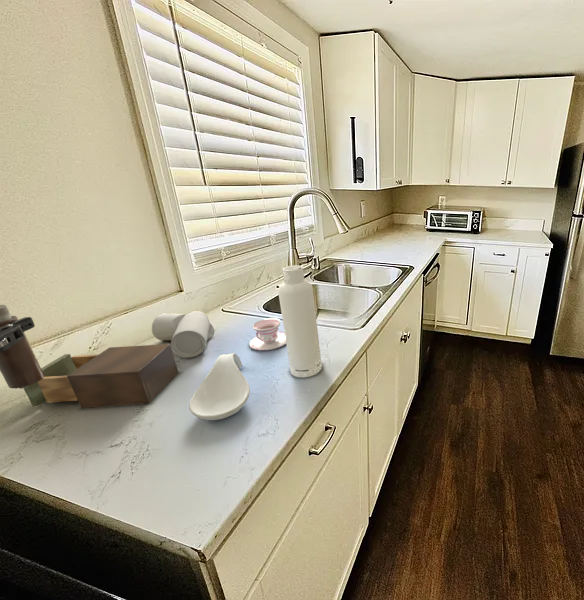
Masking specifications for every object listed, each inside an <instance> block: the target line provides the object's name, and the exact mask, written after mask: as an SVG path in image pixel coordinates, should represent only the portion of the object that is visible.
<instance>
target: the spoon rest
mask: <svg viewBox="0 0 584 600" xmlns="http://www.w3.org/2000/svg"><path fill="white" fill-rule="evenodd" d="M242 367H243V362H242V360H241V359H240V356H238V354H237V353H235V352H231V353H229V354H228V353H227V354H220V355H218V357H217V358H216V360H215V362H214V363H213V365H212V367H211V369H210V371H209V372H208V373H207V375H206V376H205V378H204V379H203V380H202V382H201V383H200V384H199V386H198V387H197V388H196V390H195V392H194V394H193V395H192V396H191V399H190V401H189V404H188V409H189V411H190V413H191V414H192V415H193V416H194V417H196V418H198V419H201V420H205V421H217V420H223V419H226V418H229V417H230V416H233V415H234V414H236V413H237V412H239V411H240V410H241V409H243V407H244V406H245V405H246V404H247V402H248V399H249V397H250V393H251V388H250V384H249V381H248V380H247V378H246V377H245V375H244V374H243V373H242V371H241V370H240V369H241V368H242Z"/></svg>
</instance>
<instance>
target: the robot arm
mask: <svg viewBox="0 0 584 600" xmlns="http://www.w3.org/2000/svg"><path fill="white" fill-rule="evenodd" d="M35 326H36V325H35V322H34V320H33V318H32V317H31V316H24V317H22V318H18V320H17V321H14V322H12V323H10V324H6V325H4V326H1V327H0V331H2V332H0V352H3V351H5V350H7V349H8V348H10V347H11V346H13V345H14V344H16V343H18V342H19V341H21V340H22V339H24V338H25V335H26V334H25V335H24V333H25V332H26V331H27V332H28V331H29V330H32V329H33V328H35ZM3 330H4V331H3ZM23 332H24V333H23Z"/></svg>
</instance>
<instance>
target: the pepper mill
mask: <svg viewBox="0 0 584 600" xmlns="http://www.w3.org/2000/svg"><path fill="white" fill-rule="evenodd" d="M17 320H19V318H18V317H17V316H16V315H11V313H10V311H9V308H8V307H7V305H6V304H0V327H1V326H4V325H6V324H10V323H12V322H14V321H17ZM3 331H4V330H3ZM0 332H2V331H0ZM23 333H24V335H25V338H24V339H22V340H21V341H19V342H18V343H16V344H14V345H13V346H11V347H10V348H8V349H7V350H5V351H3V352H0V373H1V375H2V378H4V381H5V383H6V384H7V386H8V388H9V389H20V388H21V387H25V386H28V385H31V384H34V383H36V382H38V381H40V380H41V379H43V378H44V374H43V371H42V369H41V368H42V367H41V365H40V363H39V361H38V359H37V357H36V355H35V352H34V351H33V348H32V346H31V344H30V342H29V340H28V338H27V336H26V333H25V332H23Z"/></svg>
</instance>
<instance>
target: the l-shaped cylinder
mask: <svg viewBox="0 0 584 600" xmlns="http://www.w3.org/2000/svg"><path fill="white" fill-rule="evenodd" d="M151 333H152V335H153V336H154V338H155V339H157V340H159V341H170V345H171V348H172V352H173V354H175V355H177V356H179V357H182V358H195V357H197V356H199V355H200V354H202V353H203V352H204V350H205V348H206V346H207V342H208V341H207V340H210V339H212V337H213V336H214V334H215V328H214V326H213V324H212V323H211V322H210V318H209V317H208V315H207V314H206V313H205V312H203V311H200V310H195V311H190V312H188V313H187V314H186V313H160V314H158V315H157V316H155V318H154V319H153V321H152V323H151Z"/></svg>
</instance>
